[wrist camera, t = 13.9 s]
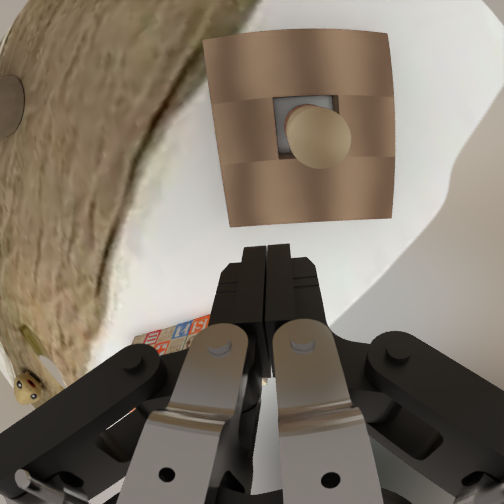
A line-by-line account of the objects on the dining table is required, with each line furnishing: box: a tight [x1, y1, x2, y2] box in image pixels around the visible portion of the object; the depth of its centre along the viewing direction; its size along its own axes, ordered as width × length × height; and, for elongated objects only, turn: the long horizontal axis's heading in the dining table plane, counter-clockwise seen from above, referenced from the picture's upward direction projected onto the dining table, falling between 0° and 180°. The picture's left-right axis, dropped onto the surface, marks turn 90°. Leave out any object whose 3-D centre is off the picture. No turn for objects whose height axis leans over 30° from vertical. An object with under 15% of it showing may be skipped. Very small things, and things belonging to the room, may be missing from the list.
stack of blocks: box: [130, 315, 268, 413], centre depth 36 cm, size 21×6×12 cm, turn 117°
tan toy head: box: [14, 371, 42, 404], centre depth 57 cm, size 10×12×11 cm
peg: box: [284, 104, 351, 169], centre depth 21 cm, size 4×4×10 cm
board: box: [203, 29, 395, 227], centre depth 24 cm, size 16×18×3 cm
